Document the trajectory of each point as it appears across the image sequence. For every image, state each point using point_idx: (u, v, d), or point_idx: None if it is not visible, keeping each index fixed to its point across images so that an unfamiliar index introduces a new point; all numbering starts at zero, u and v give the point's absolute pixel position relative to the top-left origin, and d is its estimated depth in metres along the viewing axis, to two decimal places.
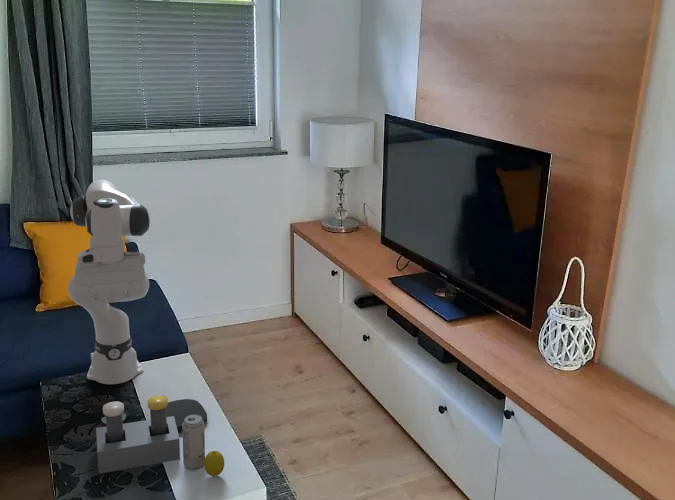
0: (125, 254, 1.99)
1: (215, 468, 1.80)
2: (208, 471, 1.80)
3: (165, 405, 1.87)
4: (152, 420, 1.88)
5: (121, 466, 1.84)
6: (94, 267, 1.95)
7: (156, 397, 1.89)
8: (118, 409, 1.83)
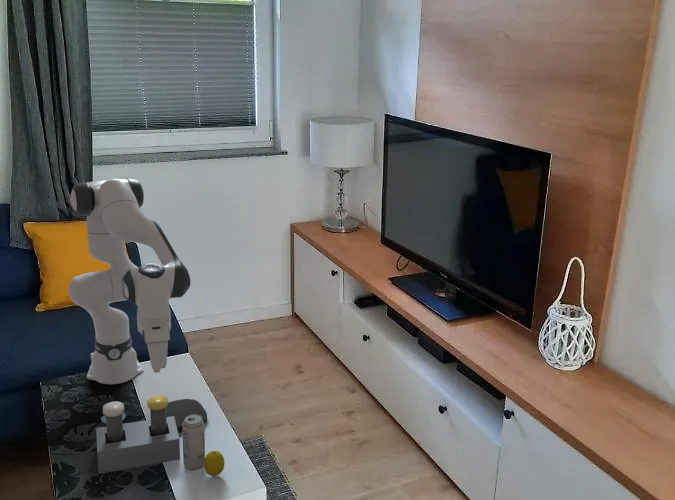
0: None
1: (215, 468, 1.80)
2: (208, 471, 1.80)
3: (165, 405, 1.87)
4: (152, 420, 1.88)
5: (121, 466, 1.84)
6: None
7: (156, 397, 1.89)
8: (118, 409, 1.83)
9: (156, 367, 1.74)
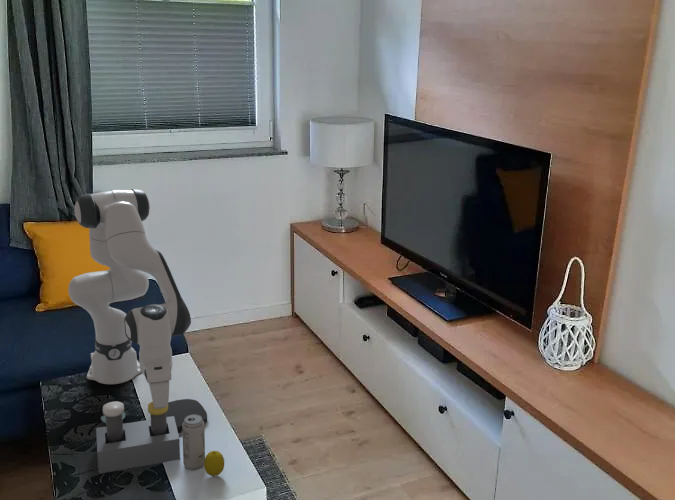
0: None
1: (215, 468, 1.80)
2: (208, 471, 1.80)
3: (165, 410, 1.88)
4: (152, 425, 1.88)
5: (121, 466, 1.84)
6: None
7: None
8: (118, 409, 1.83)
9: (158, 407, 1.78)
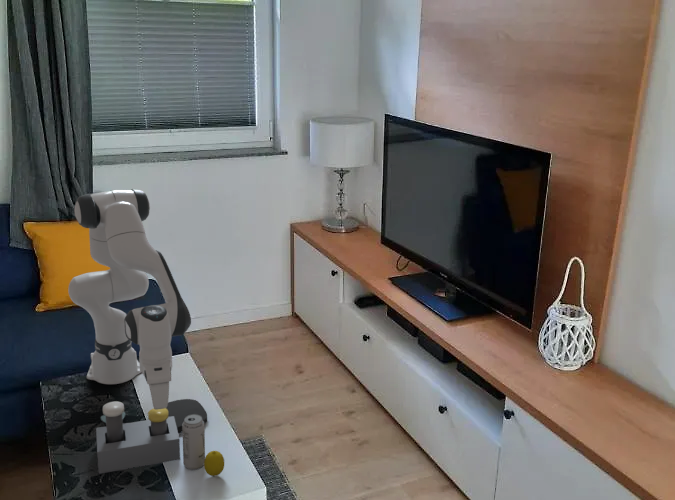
0: None
1: (215, 468, 1.80)
2: (208, 471, 1.80)
3: (165, 417, 1.88)
4: (153, 432, 1.89)
5: (121, 466, 1.84)
6: None
7: (157, 409, 1.91)
8: (118, 409, 1.83)
9: (158, 407, 1.78)
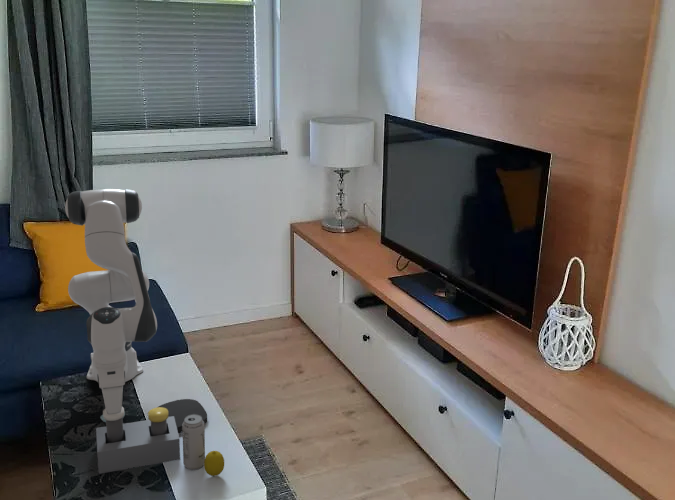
0: None
1: (215, 468, 1.80)
2: (208, 471, 1.80)
3: (165, 417, 1.88)
4: (153, 432, 1.89)
5: (121, 466, 1.84)
6: None
7: (157, 409, 1.91)
8: (118, 413, 1.83)
9: (111, 412, 1.73)
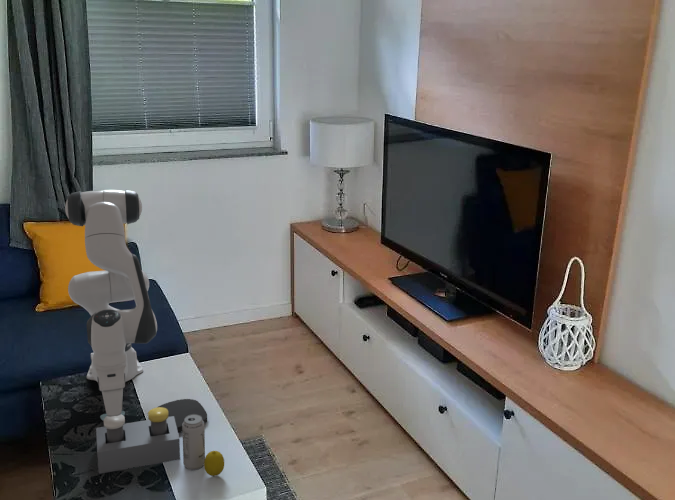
0: None
1: (215, 468, 1.80)
2: (208, 471, 1.80)
3: (165, 417, 1.88)
4: (153, 432, 1.89)
5: (121, 466, 1.84)
6: None
7: (157, 409, 1.91)
8: (119, 421, 1.84)
9: (111, 415, 1.74)
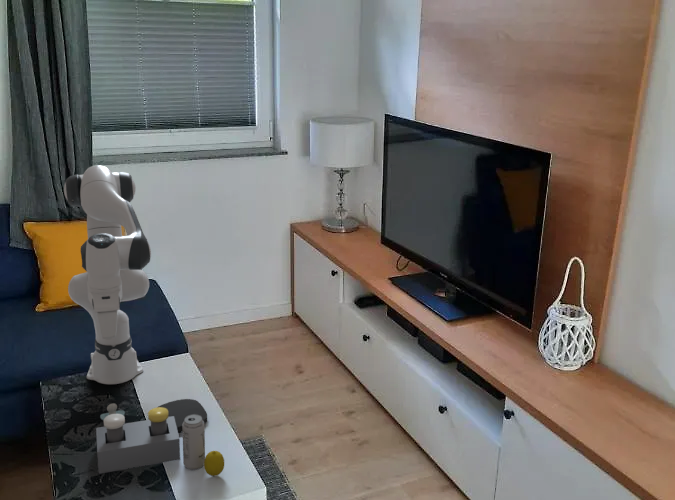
0: None
1: (215, 468, 1.80)
2: (208, 471, 1.80)
3: (165, 417, 1.88)
4: (153, 432, 1.89)
5: (121, 466, 1.84)
6: None
7: (157, 409, 1.91)
8: (119, 421, 1.84)
9: (106, 336, 1.75)
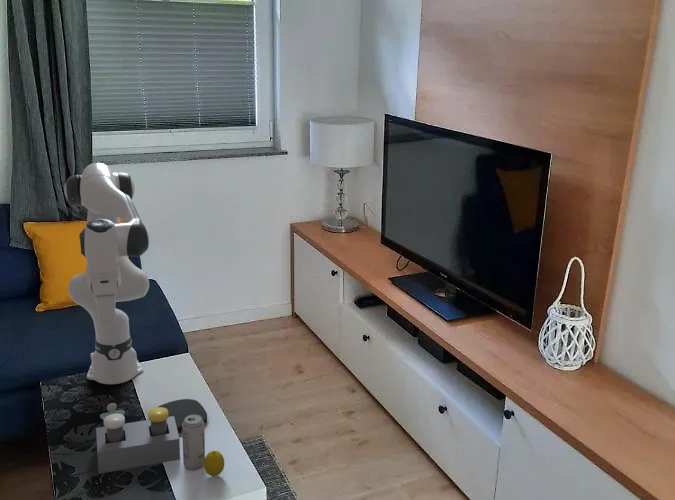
0: None
1: (215, 468, 1.80)
2: (208, 471, 1.80)
3: (165, 417, 1.88)
4: (153, 432, 1.89)
5: (121, 466, 1.84)
6: None
7: (157, 409, 1.91)
8: (119, 421, 1.84)
9: (104, 320, 1.76)
